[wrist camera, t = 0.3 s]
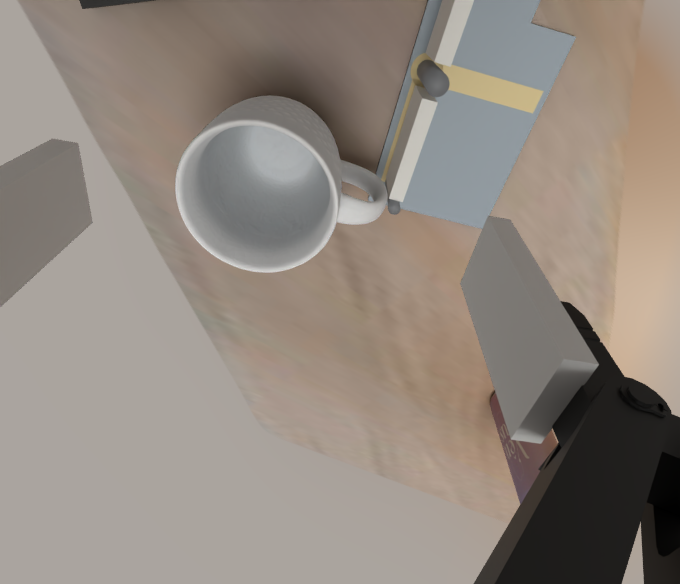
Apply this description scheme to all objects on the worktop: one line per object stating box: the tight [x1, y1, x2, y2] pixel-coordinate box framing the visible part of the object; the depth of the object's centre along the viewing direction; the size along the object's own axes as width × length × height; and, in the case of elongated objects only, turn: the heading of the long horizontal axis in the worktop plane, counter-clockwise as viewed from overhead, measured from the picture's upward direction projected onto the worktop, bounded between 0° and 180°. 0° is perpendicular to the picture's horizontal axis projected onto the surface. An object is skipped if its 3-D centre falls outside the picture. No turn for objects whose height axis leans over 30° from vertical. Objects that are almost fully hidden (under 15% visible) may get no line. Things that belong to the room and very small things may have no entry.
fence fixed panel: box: [385, 60, 450, 214], centre depth 36 cm, size 11×2×7 cm, turn 166°
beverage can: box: [490, 392, 558, 504], centre depth 52 cm, size 6×6×15 cm
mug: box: [175, 95, 388, 273], centre depth 35 cm, size 15×11×13 cm
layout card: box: [368, 0, 576, 229], centre depth 36 cm, size 22×12×1 cm, turn 166°
